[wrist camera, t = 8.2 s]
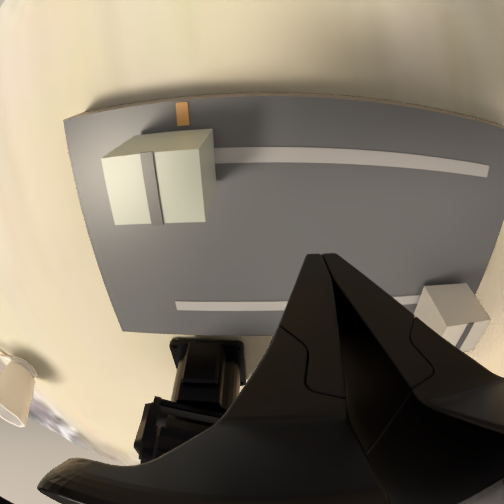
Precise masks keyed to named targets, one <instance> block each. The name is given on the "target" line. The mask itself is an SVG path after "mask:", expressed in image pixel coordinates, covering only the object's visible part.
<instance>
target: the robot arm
mask: <svg viewBox="0 0 504 504" xmlns="http://www.w3.org/2000/svg"><path fill="white" fill-rule="evenodd" d="M414 317H415V315H414V314H413V313H412V312H410V311H409V310H408V309H407V308H405V307H404V306H403V305H402V304H400V303H399V302H398V301H397V300H395V299H394V298H393V297H392V296H391V295H389V294H388V293H387V292H386V291H384V290H383V289H382V288H380V287H379V286H378V285H377V284H375V283H374V282H373V281H372V280H370V279H369V278H368V277H366V276H365V275H364V274H363V273H361V272H360V271H359V270H357V269H356V268H355V267H354V266H352V265H351V264H350V263H348V262H347V261H346V260H344V259H343V258H342V257H341V256H339V255H338V254H336V253H323V254H322V255H321V254H319V253H318V254H307V255H306V256H305V259H304V262H303V264H302V267H301V269H300V272H299V275H298V277H297V280H296V282H295V285H294V287H293V290H292V292H291V295H290V298H289V300H288V303H287V305H286V308H285V310H284V313H283V315H282V317H281V320H280V322H279V325H278V327H277V329H276V332H275V334H274V336H273V339H272V341H271V343H270V345H269V347H268V349H267V351H266V353H265V355H264V356H263V358H262V360H261V361H260V363H259V365H258V366H257V368H256V370H255V371H254V373H253V374H252V376H251V377H250V379H249V380H248V381H247V383H246V371H245V355H244V344H243V343H242V342H240V341H202V340H171V341H170V345H169V346H170V350H171V353H172V356H173V359H174V362H175V365H176V368H177V373H176V378H175V383H174V388H173V393H172V398H171V401H169V400H165V399H161V397H157V396H155V398H154V402H152V403H148V404H145V407H144V411H143V416H142V420H141V423H140V426H139V429H138V432H137V435H136V439H135V442H134V448H135V450H136V451H137V453H138V454H139V459H140V460H141V463H140V464H139V465H134V466H117V465H110V464H105V463H102V462H98V461H93V460H89V459H84V458H70V459H68V460H67V461H65V462H63V463H62V464H60V465H59V466H57V467H55V468H54V469H52V470H51V471H50V472H49V473H47V474H46V475H45V477H44V478H43V479H42V480H41V481H40V483H39V484H38V486H37V489H38V490H39V491H40V492H41V493H43V494H44V495H46V496H48V497H50V498H51V499H53V500H56V501H57V502H59V503H61V504H504V378H503V377H500V376H498V375H496V374H494V373H492V372H491V371H489V370H487V369H486V368H485V367H483V366H482V365H481V364H479V363H478V362H476V361H475V360H474V359H472V358H471V357H469V356H468V355H466V354H465V353H464V352H462V351H461V350H459V349H458V348H457V347H455V346H454V345H452V344H451V343H450V342H448V341H447V340H446V339H444V338H443V337H441V336H440V335H439V334H438V333H436V332H435V331H434V330H433V329H431V328H430V327H429V326H427V325H426V324H425V323H424V322H423V321H421V320H420V319H419V318H418V317H415V318H414ZM237 346H238V347H237ZM244 385H245V386H244ZM240 386H244V387H243V389H242V390H241V392H240V393H239V390H240ZM0 504H13V503H11V502H10V501H8V500H6V499H4V498H2V497H1V496H0Z"/></svg>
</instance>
